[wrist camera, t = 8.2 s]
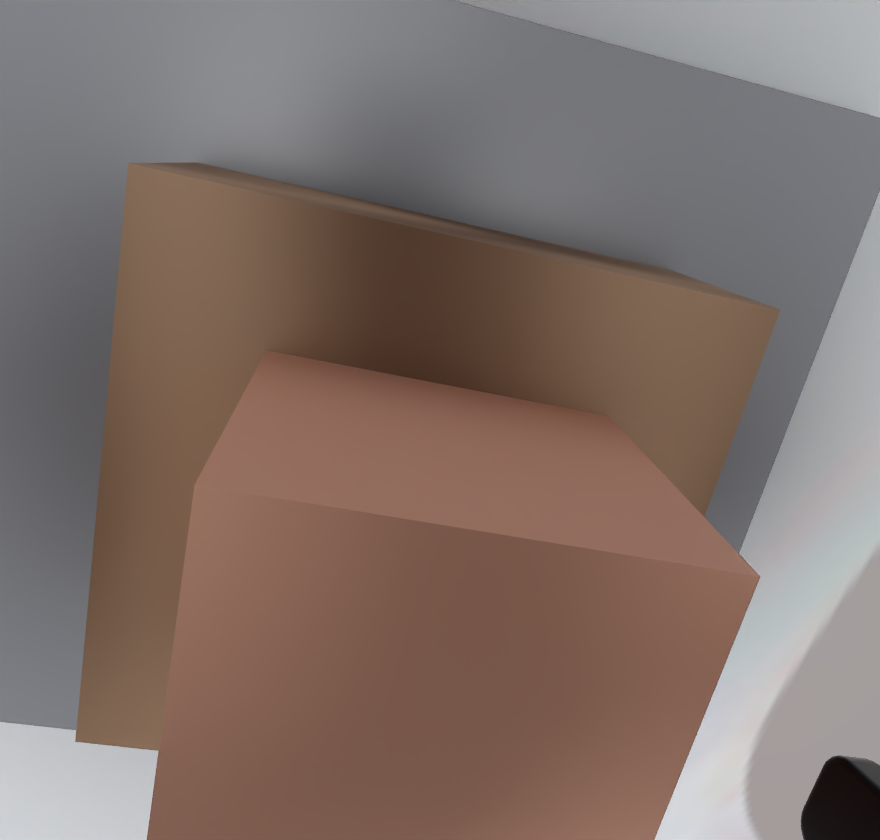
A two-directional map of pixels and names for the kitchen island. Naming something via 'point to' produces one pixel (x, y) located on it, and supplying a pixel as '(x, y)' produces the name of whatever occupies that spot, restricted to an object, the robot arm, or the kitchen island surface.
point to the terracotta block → (435, 620)
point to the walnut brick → (361, 366)
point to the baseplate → (383, 182)
